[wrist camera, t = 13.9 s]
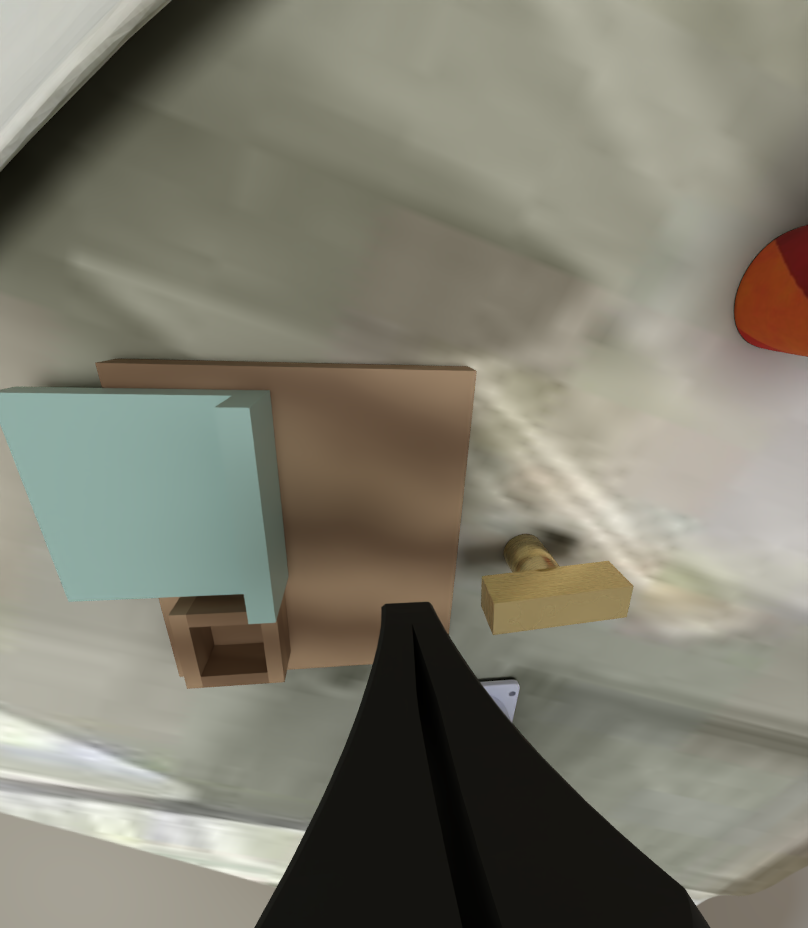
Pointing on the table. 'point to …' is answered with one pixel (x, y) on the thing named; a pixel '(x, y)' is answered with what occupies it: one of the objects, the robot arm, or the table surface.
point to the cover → (153, 491)
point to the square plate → (56, 56)
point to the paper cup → (776, 296)
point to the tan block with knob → (550, 591)
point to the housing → (332, 509)
